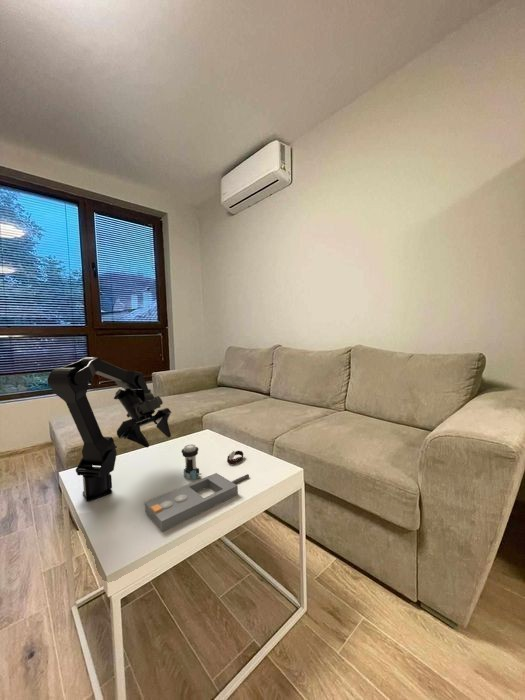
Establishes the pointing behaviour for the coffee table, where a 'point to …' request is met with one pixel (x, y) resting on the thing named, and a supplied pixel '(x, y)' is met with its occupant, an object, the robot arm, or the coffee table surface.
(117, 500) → the coffee table surface
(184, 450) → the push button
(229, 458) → the watch
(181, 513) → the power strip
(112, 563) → the coffee table surface
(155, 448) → the coffee table surface
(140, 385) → the robot arm
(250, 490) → the coffee table surface
